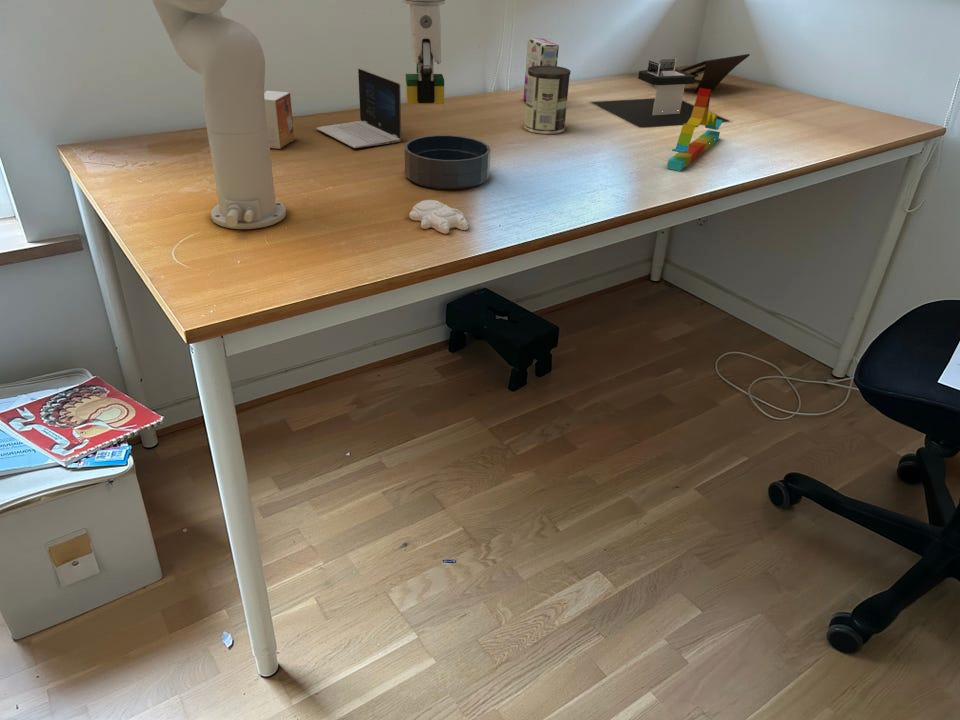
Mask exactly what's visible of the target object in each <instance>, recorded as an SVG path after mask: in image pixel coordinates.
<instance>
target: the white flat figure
mask: <svg viewBox="0 0 960 720" xmlns="http://www.w3.org/2000/svg"><path fill="white" fill-rule="evenodd" d="M408 216H409V219H410V220H412V221H419V222H420V227H421V229H422V230H426V229H430V228H432V229H434V230H435V231H437V232H439V233H441V234H444V235H446V234H448V233H449V232H450V229H453V228H456V229H459V230H461V231H467V230H468V228H469V222H468V220H467V218H466V216H464V212H462V211H461V210H460V209H457V208H452V207H450V206H449V205H447V204H445V203H443V202H441V201H439V200H436V199H425V200H422V201H420V202H417V203H416V204H415V205H413V207H412V209H411V211H410V212H409V215H408Z"/></svg>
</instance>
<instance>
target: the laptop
mask: <svg viewBox="0 0 960 720" xmlns="http://www.w3.org/2000/svg"><path fill="white" fill-rule="evenodd" d="M357 70H358V71H357V72H358V73H357V77H358V93H359V94H358V95H359V96H358V98H359V116H360V117H359V118H360V120H356V121H351V122H344V123H343V122H342V123H335V124H329V125H322V126H318V127H317V126H316V128H315V129H316V130H318V131H320V132H321V133H323V134H325V135H327V136H329V137H331V138H333V139H335V140H337V141H339V142H341V143H343V144H345V145H347V146H349V147H350V148H353V149H361V148H366V147H373V146H381V145H388V144H395V143H400V142H402V141H401V139H402V102H401V101H402V99H401V95H402V94H401V83H400V82H397V81H395V80H393V79H390V78H387V77H384V76H382V75H379V74H376V73H373V72H371V71H368V70H365V69H362V68H360V67H359V68H358V69H357Z"/></svg>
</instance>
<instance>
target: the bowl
mask: <svg viewBox="0 0 960 720" xmlns="http://www.w3.org/2000/svg"><path fill="white" fill-rule="evenodd" d="M403 151H404V152H403V155H404V157H403V158H404V163H403V164H404V176H405V177H406V178H407V179H408V180H409V181H411V182H412V183H414V184H416V185H419V186H421V187H425V188H429V189H433V190H434V189H435V190H447V191H450V190H452V191H453V190H466V189H470V188H474V187H477V186H479V185H481V184H482V183H485V182H486V181H487V180H488V179H489V177H490V167H491V152H492V151H491V147H490V145H488V143H485V142H484V141H481V140H479V139H476V138H472V137H467V136H462V135H451V134H450V135H449V134H435V135H425V136H419V137H416V138H413V139H411V140H409V141H406V143H405V144H404V145H403Z"/></svg>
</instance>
